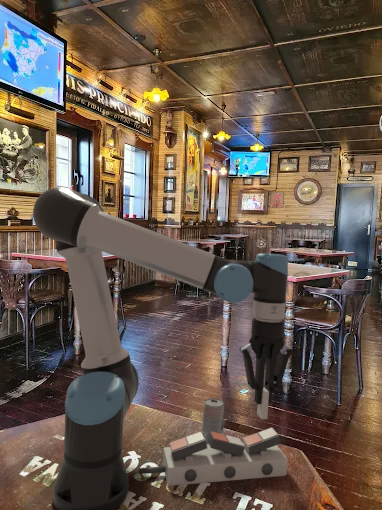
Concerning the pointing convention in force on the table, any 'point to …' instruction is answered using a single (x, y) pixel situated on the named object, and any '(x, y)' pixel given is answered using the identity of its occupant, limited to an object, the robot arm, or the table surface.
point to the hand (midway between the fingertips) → (262, 416)
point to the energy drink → (212, 417)
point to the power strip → (220, 466)
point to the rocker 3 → (261, 440)
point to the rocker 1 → (188, 445)
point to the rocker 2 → (225, 443)
